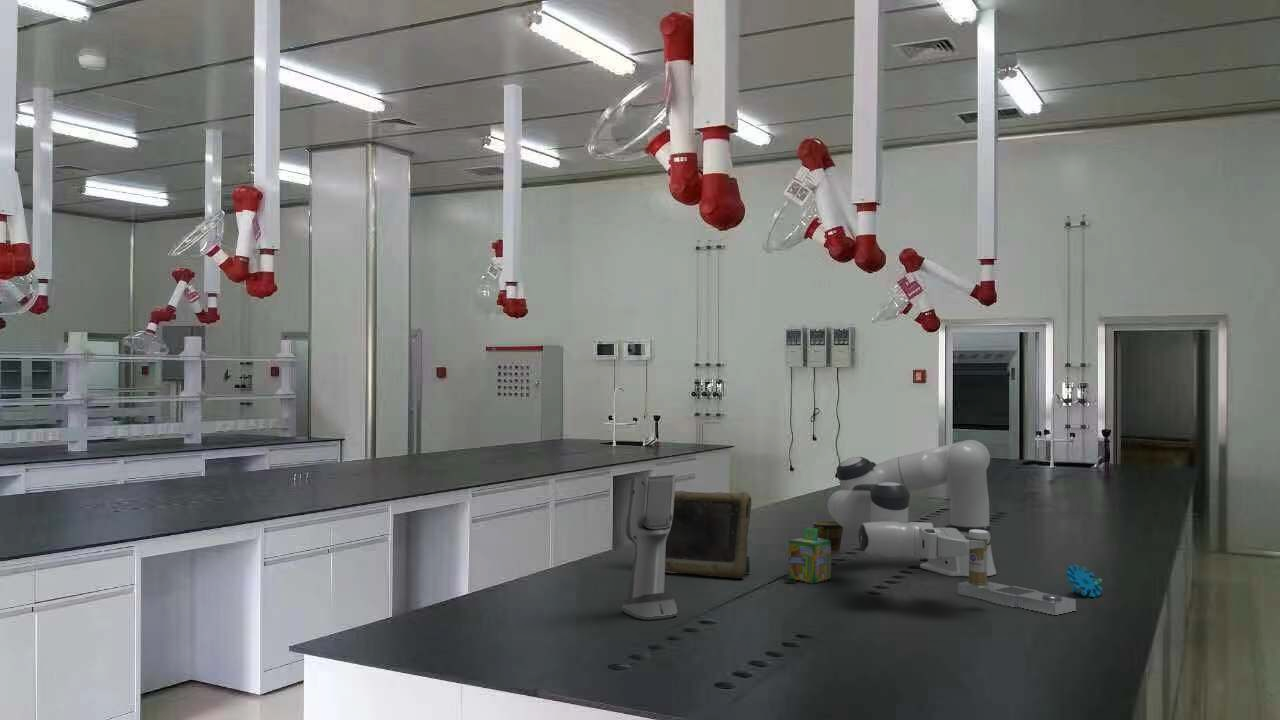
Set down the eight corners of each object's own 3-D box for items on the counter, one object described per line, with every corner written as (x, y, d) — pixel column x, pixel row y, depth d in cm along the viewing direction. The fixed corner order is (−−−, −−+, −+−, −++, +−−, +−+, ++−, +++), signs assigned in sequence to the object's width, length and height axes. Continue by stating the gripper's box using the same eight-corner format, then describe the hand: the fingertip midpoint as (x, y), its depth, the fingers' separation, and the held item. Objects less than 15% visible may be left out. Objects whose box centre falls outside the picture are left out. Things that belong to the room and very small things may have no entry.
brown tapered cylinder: (821, 548, 333) (821, 519, 334) (848, 551, 328) (848, 521, 328) (804, 554, 323) (803, 524, 323) (832, 557, 317) (831, 526, 317)
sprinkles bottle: (965, 584, 245) (965, 530, 245) (972, 581, 248) (973, 528, 248) (983, 587, 242) (983, 532, 242) (990, 583, 245) (990, 530, 245)
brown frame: (639, 574, 294) (637, 491, 295) (655, 566, 307) (654, 486, 308) (743, 581, 282) (742, 494, 283) (756, 572, 295) (755, 489, 296)
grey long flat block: (955, 594, 261) (955, 581, 261) (980, 590, 266) (979, 576, 266) (1053, 616, 236) (1052, 601, 236) (1078, 611, 241) (1077, 596, 241)
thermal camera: (641, 622, 236) (639, 477, 237) (619, 611, 248) (617, 473, 248) (683, 616, 241) (681, 474, 242) (660, 606, 253) (658, 470, 253)
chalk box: (788, 580, 283) (787, 528, 283) (805, 575, 290) (804, 525, 290) (815, 584, 277) (814, 531, 277) (832, 579, 283) (831, 528, 284)
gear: (1079, 594, 253) (1062, 561, 260) (1066, 606, 256) (1049, 574, 263) (1113, 596, 256) (1095, 564, 263) (1099, 609, 260) (1082, 577, 267)
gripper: (920, 545, 258) (974, 547, 255) (930, 560, 237) (989, 562, 235) (920, 521, 258) (974, 522, 255) (930, 534, 237) (990, 536, 235)
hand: (982, 542), depth 245 cm, fingers closed on sprinkles bottle, 4 cm apart
